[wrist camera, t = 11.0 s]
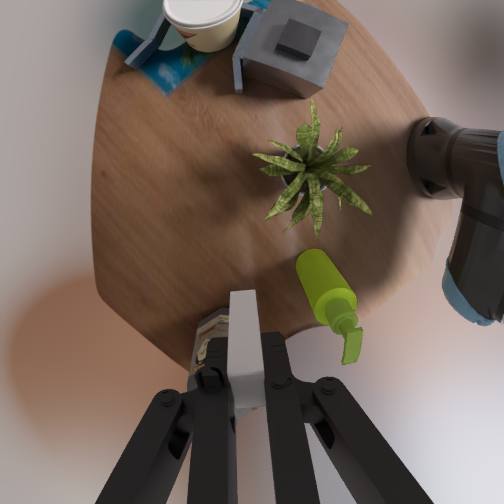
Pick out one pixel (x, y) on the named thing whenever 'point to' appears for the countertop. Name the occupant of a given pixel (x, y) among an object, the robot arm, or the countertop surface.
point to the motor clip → (274, 46)
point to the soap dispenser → (331, 299)
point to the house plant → (312, 174)
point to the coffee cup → (204, 21)
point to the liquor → (206, 330)
